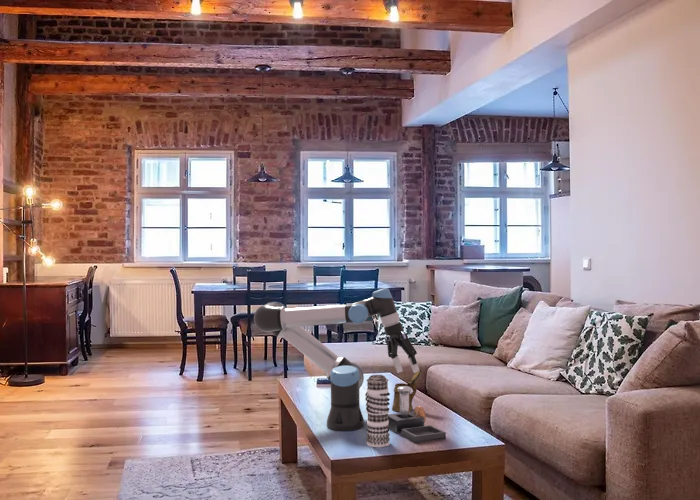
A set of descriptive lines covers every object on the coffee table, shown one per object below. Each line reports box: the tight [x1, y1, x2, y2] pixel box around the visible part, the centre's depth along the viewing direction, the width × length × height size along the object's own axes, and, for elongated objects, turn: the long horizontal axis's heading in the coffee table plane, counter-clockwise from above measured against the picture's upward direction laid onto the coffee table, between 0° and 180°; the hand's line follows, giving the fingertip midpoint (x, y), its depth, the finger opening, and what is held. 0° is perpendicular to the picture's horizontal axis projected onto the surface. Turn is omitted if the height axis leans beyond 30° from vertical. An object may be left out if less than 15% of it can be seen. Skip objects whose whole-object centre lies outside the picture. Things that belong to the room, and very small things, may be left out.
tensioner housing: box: [388, 405, 427, 434], centre depth 260 cm, size 15×10×8 cm
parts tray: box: [401, 424, 447, 444], centre depth 247 cm, size 13×11×2 cm
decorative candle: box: [364, 374, 391, 448], centre depth 240 cm, size 9×9×25 cm
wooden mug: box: [391, 368, 423, 413], centre depth 290 cm, size 9×14×18 cm, turn 96°
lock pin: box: [398, 386, 412, 419], centre depth 259 cm, size 5×5×16 cm
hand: (408, 372), depth 274 cm, fingers open, 13 cm apart
